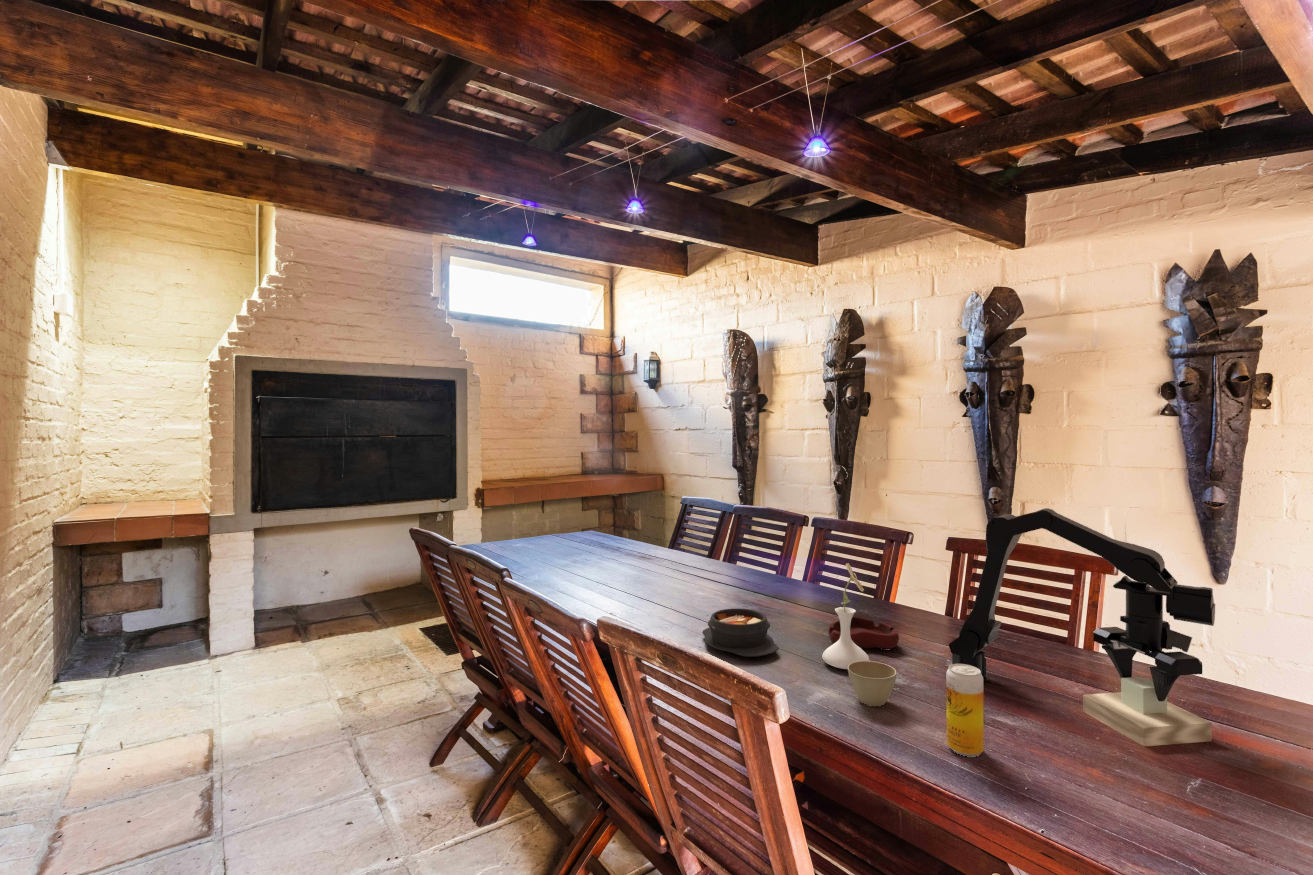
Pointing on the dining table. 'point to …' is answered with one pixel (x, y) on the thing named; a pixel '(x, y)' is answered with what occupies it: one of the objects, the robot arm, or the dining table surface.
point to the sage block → (1141, 695)
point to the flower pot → (872, 681)
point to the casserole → (740, 632)
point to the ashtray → (867, 634)
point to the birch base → (1147, 721)
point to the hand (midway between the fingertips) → (1143, 692)
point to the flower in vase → (845, 635)
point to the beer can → (965, 710)
